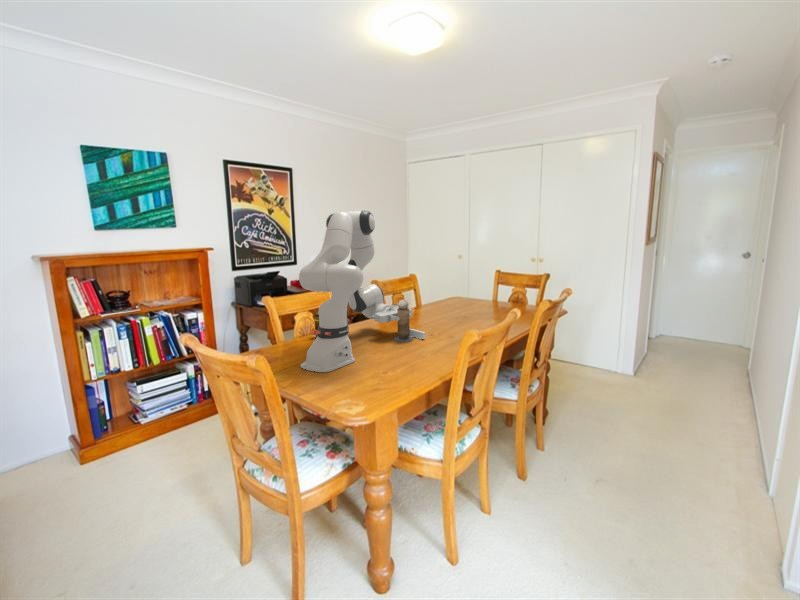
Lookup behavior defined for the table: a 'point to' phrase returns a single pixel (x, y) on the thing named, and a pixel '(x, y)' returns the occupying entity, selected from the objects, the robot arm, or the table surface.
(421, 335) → the acrylic wall
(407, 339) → the mat
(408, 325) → the peg
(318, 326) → the condiment
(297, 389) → the table surface
